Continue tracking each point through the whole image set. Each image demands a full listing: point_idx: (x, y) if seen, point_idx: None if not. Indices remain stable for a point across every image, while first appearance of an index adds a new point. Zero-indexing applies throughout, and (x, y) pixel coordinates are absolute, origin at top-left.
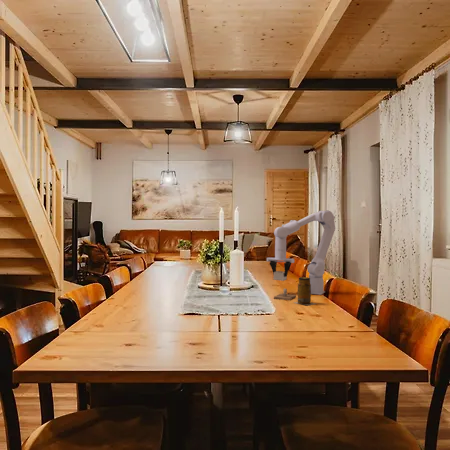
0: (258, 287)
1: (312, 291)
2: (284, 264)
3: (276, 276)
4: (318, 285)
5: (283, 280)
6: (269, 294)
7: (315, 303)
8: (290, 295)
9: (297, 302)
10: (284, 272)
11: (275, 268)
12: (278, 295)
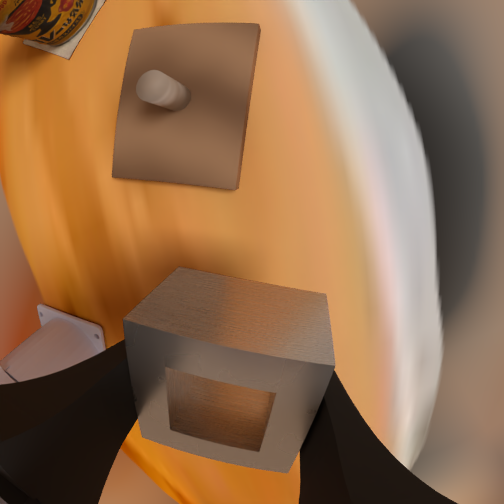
0: (415, 431)
1: (66, 327)
2: (9, 433)
3: (277, 312)
4: (23, 341)
5: (178, 273)
6: (342, 216)
7: (28, 42)
8: (141, 137)
9: (97, 5)
10: (139, 382)
11: (308, 483)
12: (234, 91)
